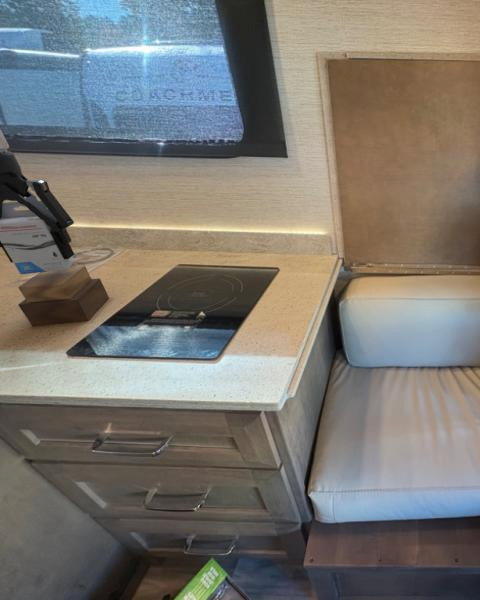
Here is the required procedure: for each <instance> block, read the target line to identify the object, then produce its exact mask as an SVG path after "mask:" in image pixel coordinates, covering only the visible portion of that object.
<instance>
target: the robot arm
mask: <svg viewBox="0 0 480 600" xmlns="http://www.w3.org/2000/svg"><path fill="white" fill-rule="evenodd" d="M3 133H4V132H2V129H1V128H0V218H2V203H5V201H9V202H19V203H20V204H22V205H25V206H26V207H25V208H27V210H31V211H32V212H33V213H34V214H35V215H37V216H38V217H39V218H40V219H41V220H44V222H45V223H46V224H47V225H48V226H50V227H51V228H52V229H53V230H52V231H51V232H50V233H51V235H52V237H53V239H54V241H55V243H56V245H57V247H58V249H59V250H60V252H61V254H62V256H63V258H64V259H69V258H70V257H72V256H73V257H74V256H75V253H74V250H73V248H72V246H71V245H70V243H72V238H71V236H70V234H69V232H68V230H67V228H69V227H71V226H73V225H74V224H75V221H74V220H73V218H72V217H71V216H70V215H69V213H68V212H67V210H66V209H65V208H64V207H63V205H62V204H61V203H60V201H58V199H57V198H56V197H55V195H54V194H53V192H51V190H50V187H49V184H48V182H47V180H46V179H39V180H35V179H34V180H33V179H32V180H31V179H28V178H27V177H26V176H25V175H24V174H23V173H22V167H21V165H20V163H19V161H18V160H17V158H16V156H15V154H14V152H12V151H10V150H8V149H9V148H10V145H9V143H8V141H7V138H6V137H5V135H4V134H3ZM29 188H31V189H30V190H31V191H33V192H35V194H36V196H35V194H34V193H32V192H31V191H30V190H29ZM37 197H38V199H39V200H38V199H37ZM39 201H42V202H43V203H44V205H45V206H46V207H47V208H46V207H45V206H44V205H42V204H41V203H40V202H39ZM0 248H1V249H2V250H3V252H4V254H5V255H6V257H7V258H8V260H9V262H10V263H13V261H12V259H11V258H10V256H9V254H8V253H7V251H6V249H5V248H4V246H3V244H2V243H1V241H0Z"/></svg>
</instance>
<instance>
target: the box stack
mask: <svg viewBox="0 0 480 600" xmlns="http://www.w3.org/2000/svg"><path fill="white" fill-rule="evenodd" d="M17 288H18V289H19V291H20V293H21V294H22V296H23V298H24V299H23V300H22V301H21V302H20V303H18V308H19V309H20V310H21V312H22V313H23V314H24V317H26V319H27V320H28V322H29V324H30V325H31V327H39V326H49V325H59V324H70V323H80V322H89V321H90V320H92V318H93V316H95V315H96V314H97V312H98V311H99V310H100V309H101V308H102V307H103V306H104V305H105V304H106V303H107V301H108V300H109V299H110V297H109V294H108V292H107V290H106V288H105V286H104V284H103V281H102V280H101V278H100V277H99V278H92V277H91V275H90V273H89V271H88V268H87V267H86V265H75V266H74V265H73V266H72V265H71V266H70V268H69V269H67V270H58V271H48V272H39V273H36V274H35V275H34V276H32V277H31V278H30V279H28V280H27V281H25V282H23V283H22V284H21V285H20V286H18V287H17Z"/></svg>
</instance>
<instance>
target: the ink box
mask: <svg viewBox="0 0 480 600" xmlns="http://www.w3.org/2000/svg"><path fill="white" fill-rule="evenodd" d="M38 201H39V202H40V203H41V204H42V205H44V203H43V202H42V201H41V200H38ZM44 206H45V205H44ZM20 207H24V208H27V207H26V206H25V205H22V204H20V203H19V202H17V201H9V202H3V203H2V218H0V241H1V243H2V244H3V246H4V248H5V249H6V251H7V253H8V254H9V256H10V258H11V259H12V261H13V262H12V264H13V265H14V266H15V267H16V269H17V271H18V272H19V274H20V275H30V274H38V273H40V272H48V271H58V270H67V269H69V268H70V267H72V265H73V264H74V263H75V258H74V255H73V256H72V257H70V258H69V259H64V258H63V256H62V254H61V252H60V250H59V249H58V247H57V245H56V243H55V241H54V239H53V237H52V235H51V233H50V232H51V231H52V230H53V229H52V228H51V227H50V226H48V225H47V224H46V223H45V222H44V220H41V219H40V218H39V217H38V216H37V215H35V214H34V213H33V212H32V211H31V210H29V209H17V208H20ZM45 207H46V206H45ZM46 208H47V207H46ZM47 209H48V208H47Z"/></svg>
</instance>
